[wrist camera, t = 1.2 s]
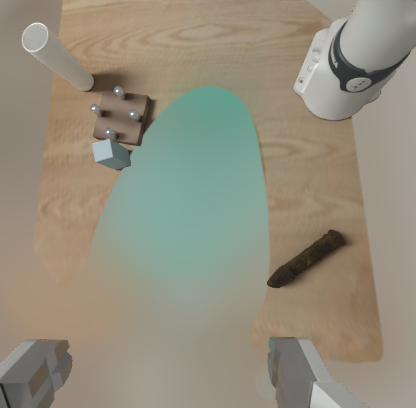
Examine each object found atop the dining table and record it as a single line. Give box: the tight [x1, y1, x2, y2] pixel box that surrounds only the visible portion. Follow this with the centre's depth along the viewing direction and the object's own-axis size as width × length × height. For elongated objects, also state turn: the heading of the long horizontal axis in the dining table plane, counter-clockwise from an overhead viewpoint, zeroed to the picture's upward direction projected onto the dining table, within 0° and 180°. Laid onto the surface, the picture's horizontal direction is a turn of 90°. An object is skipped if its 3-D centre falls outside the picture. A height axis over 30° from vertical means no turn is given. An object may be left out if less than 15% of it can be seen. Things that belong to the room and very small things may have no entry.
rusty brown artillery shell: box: [267, 230, 346, 288], centre depth 44 cm, size 19×4×5 cm, turn 124°
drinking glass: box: [22, 23, 94, 91], centre depth 50 cm, size 7×7×15 cm
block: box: [92, 138, 131, 170], centre depth 50 cm, size 4×4×8 cm
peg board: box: [90, 86, 151, 146], centre depth 53 cm, size 13×13×5 cm
